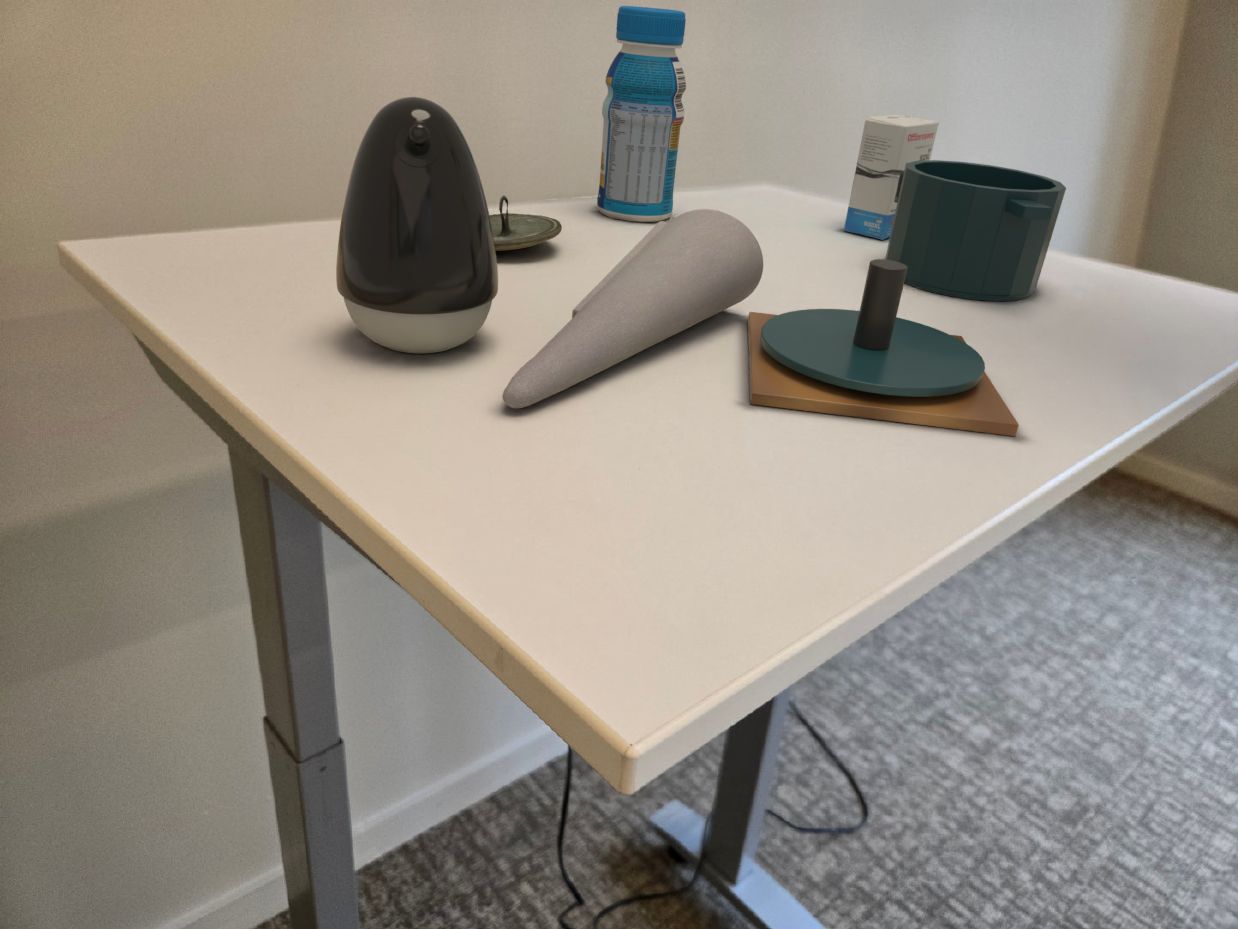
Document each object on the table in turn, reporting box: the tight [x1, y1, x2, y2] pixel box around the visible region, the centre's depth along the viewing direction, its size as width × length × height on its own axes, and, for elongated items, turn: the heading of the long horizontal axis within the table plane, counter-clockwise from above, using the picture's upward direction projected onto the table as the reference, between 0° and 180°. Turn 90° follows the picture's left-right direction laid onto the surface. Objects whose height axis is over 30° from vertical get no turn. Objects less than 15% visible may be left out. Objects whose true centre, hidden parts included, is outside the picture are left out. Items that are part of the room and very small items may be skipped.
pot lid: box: [760, 258, 986, 397], centre depth 61 cm, size 15×15×7 cm
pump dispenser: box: [335, 96, 499, 355], centre depth 58 cm, size 10×10×15 cm
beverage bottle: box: [596, 5, 687, 223], centre depth 95 cm, size 8×8×20 cm
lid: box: [489, 195, 563, 252], centre depth 83 cm, size 11×10×5 cm
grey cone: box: [502, 208, 764, 409], centre depth 61 cm, size 8×9×26 cm
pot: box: [884, 159, 1067, 302], centre depth 85 cm, size 14×19×10 cm
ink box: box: [843, 114, 940, 240], centre depth 100 cm, size 8×5×12 cm, turn 139°
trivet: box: [747, 311, 1020, 437], centre depth 63 cm, size 16×16×1 cm
